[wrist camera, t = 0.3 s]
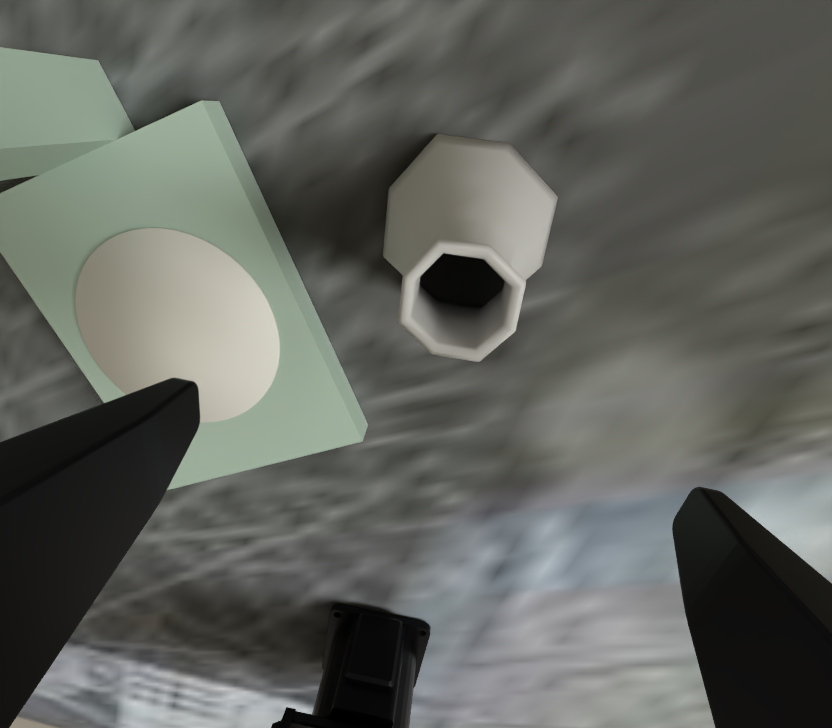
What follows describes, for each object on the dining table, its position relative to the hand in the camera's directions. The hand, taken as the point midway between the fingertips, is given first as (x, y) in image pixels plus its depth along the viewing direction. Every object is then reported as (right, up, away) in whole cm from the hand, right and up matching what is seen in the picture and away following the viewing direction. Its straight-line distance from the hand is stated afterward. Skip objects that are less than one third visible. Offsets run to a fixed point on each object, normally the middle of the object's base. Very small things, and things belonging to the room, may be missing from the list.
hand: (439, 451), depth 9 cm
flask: (+2, +7, +13) cm, 15 cm away
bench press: (-13, +8, +14) cm, 21 cm away
